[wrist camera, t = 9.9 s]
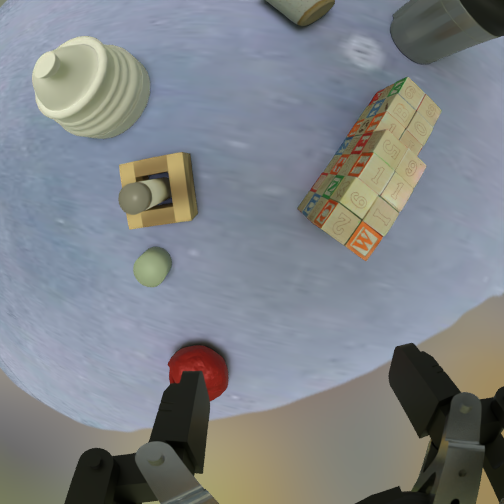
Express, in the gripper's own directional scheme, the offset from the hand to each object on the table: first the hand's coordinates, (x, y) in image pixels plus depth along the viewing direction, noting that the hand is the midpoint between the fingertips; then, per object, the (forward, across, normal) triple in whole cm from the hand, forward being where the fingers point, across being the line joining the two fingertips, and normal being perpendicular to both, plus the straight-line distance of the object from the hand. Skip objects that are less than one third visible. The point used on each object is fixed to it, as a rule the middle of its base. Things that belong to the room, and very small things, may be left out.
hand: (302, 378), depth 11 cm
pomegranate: (+29, +12, +22) cm, 38 cm away
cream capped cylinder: (+29, +12, -6) cm, 32 cm away
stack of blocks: (+29, -14, -8) cm, 33 cm away
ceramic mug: (+29, -8, -33) cm, 45 cm away
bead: (+29, +15, +4) cm, 33 cm away
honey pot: (+29, +20, -21) cm, 41 cm away
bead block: (+29, +12, -6) cm, 32 cm away
